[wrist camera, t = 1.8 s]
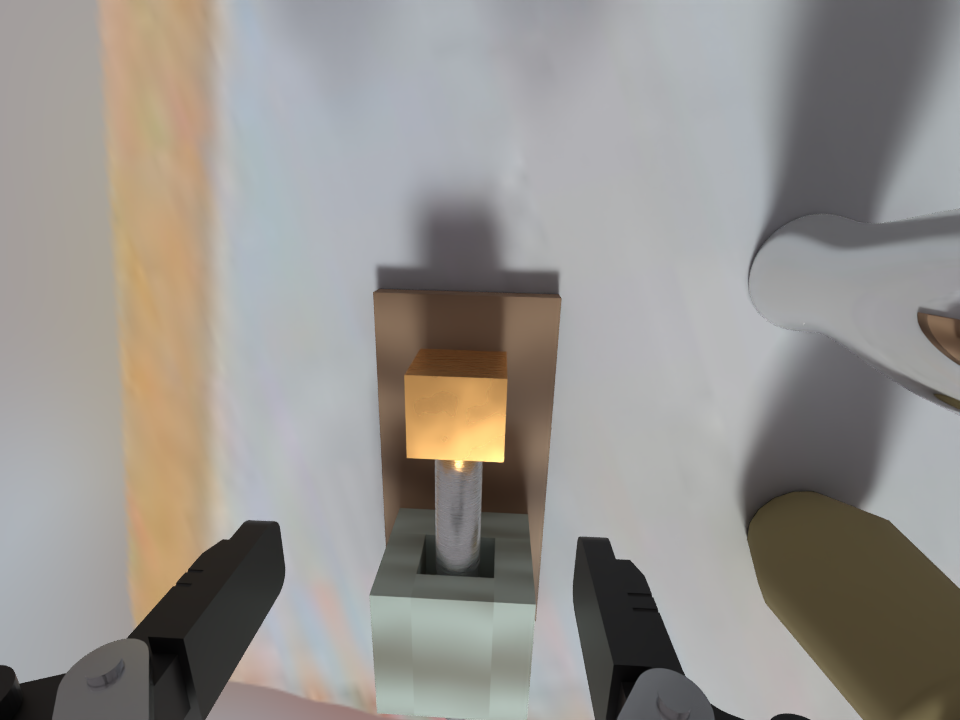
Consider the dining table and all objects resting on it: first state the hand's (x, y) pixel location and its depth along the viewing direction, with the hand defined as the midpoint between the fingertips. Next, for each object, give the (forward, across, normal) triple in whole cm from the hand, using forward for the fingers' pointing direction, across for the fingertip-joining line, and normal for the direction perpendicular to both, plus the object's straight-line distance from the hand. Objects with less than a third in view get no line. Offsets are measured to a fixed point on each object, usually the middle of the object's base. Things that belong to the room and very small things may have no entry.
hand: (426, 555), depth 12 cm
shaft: (+12, 0, +9) cm, 15 cm away
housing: (+15, 0, +6) cm, 16 cm away
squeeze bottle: (+15, -21, +10) cm, 28 cm away
